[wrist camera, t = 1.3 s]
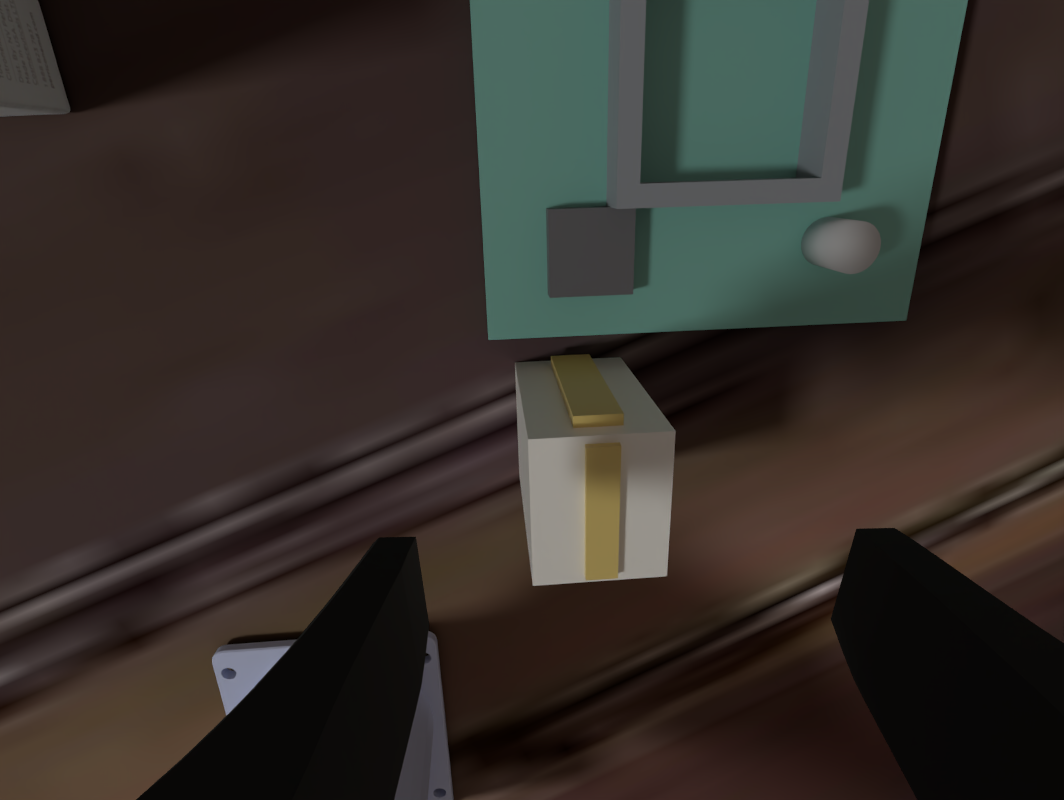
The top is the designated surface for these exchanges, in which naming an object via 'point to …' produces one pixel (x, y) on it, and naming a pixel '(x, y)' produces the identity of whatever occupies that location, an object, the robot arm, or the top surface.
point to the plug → (592, 471)
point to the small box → (28, 63)
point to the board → (705, 160)
